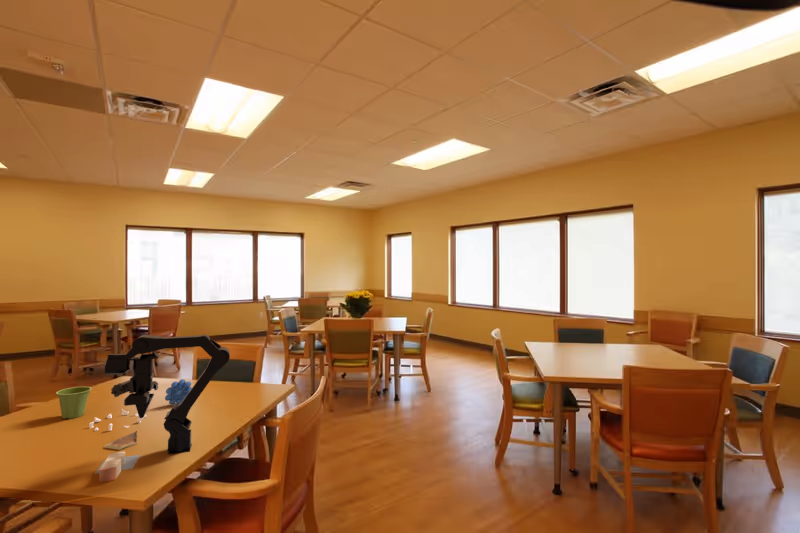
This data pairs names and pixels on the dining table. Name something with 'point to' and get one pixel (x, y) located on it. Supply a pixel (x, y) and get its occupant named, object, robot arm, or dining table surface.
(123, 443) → the shard
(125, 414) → the game piece set
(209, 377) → the robot arm
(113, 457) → the block
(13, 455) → the dining table surface
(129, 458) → the mat
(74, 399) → the plant pot
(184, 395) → the grapes
